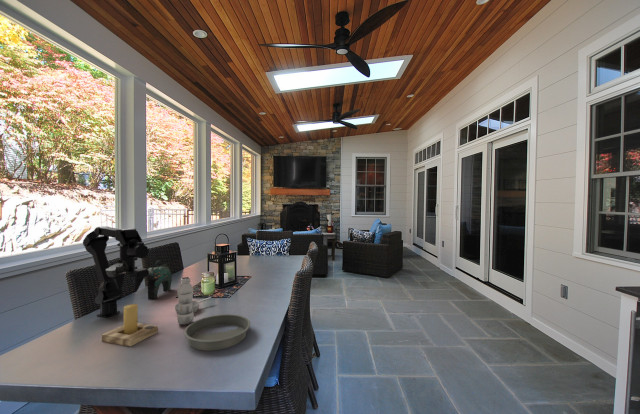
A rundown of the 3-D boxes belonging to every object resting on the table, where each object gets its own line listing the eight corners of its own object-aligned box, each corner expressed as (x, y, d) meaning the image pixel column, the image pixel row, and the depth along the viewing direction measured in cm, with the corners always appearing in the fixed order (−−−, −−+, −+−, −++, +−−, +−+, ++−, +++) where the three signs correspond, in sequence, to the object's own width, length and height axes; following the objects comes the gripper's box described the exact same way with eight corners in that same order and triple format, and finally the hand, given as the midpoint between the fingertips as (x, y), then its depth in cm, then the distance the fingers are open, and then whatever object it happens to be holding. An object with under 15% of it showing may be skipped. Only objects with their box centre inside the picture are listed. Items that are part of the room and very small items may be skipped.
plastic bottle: (197, 321, 125) (197, 276, 125) (185, 327, 119) (185, 280, 118) (185, 319, 127) (185, 275, 127) (173, 325, 121) (173, 279, 120)
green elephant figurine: (154, 300, 151) (154, 263, 151) (142, 300, 151) (142, 263, 151) (173, 289, 171) (173, 256, 171) (163, 289, 171) (163, 256, 171)
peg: (121, 339, 108) (121, 308, 108) (126, 334, 112) (126, 304, 112) (134, 338, 109) (134, 307, 109) (139, 333, 113) (139, 303, 113)
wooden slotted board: (101, 341, 107) (101, 334, 107) (130, 327, 118) (130, 321, 118) (130, 346, 103) (130, 339, 103) (157, 332, 114) (157, 325, 114)
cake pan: (263, 332, 116) (263, 321, 116) (213, 361, 94) (213, 347, 94) (222, 319, 128) (222, 309, 128) (170, 342, 107) (170, 330, 107)
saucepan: (170, 312, 135) (170, 304, 135) (205, 302, 150) (205, 295, 150) (181, 318, 129) (181, 309, 129) (216, 306, 143) (216, 299, 143)
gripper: (93, 258, 121) (93, 294, 121) (126, 261, 116) (126, 298, 116) (118, 254, 132) (118, 287, 132) (149, 256, 127) (149, 290, 127)
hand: (127, 290), depth 126 cm, fingers open, 9 cm apart
